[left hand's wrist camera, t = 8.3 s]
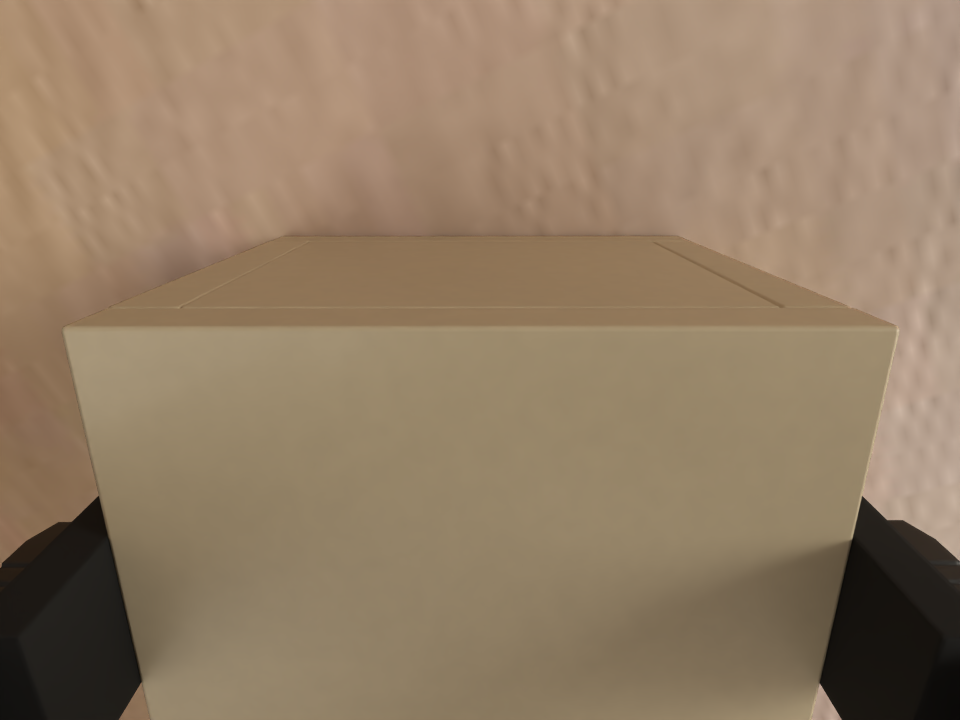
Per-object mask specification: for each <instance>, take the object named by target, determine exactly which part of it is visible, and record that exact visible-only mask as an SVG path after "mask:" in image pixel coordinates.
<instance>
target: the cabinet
mask: <svg viewBox="0 0 960 720" xmlns="http://www.w3.org/2000/svg"><path fill="white" fill-rule="evenodd" d="M62 336H63V340H64V345H65V349H66V354H67V358H68V362H69V367H70V371H71V375H72V380H73V384H74V389H75V393H76V397H77V402H78V406H79V410H80V415H81V419H82V424H83V428H84V432H85V437H86V441H87V445H88V450H89V454H90V459H91V463H92V467H93V472H94V476H95V480H96V485H97V489H98V494H99V498H100V502H101V507H102V511H103V515H104V520H105V524H106V529H107V533H108V537H109V542H110V546H111V551H112V555H113V559H114V564H115V568H116V572H117V577H118V581H119V586H120V590H121V594H122V599H123V603H124V607H125V612H126V616H127V621H128V625H129V629H130V634H131V638H132V642H133V647H134V651H135V656H136V660H137V664H138V669H139V673H140V677H141V682H142V686H143V691H144V695H145V699H146V704H147V708H148V712H149V717H150V720H811V719H812V714H813V710H814V705H815V701H816V697H817V692H818V688H819V683H820V679H821V675H822V670H823V666H824V661H825V657H826V653H827V648H828V644H829V639H830V635H831V631H832V626H833V622H834V617H835V613H836V609H837V604H838V600H839V595H840V591H841V587H842V582H843V578H844V573H845V569H846V565H847V560H848V556H849V551H850V547H851V543H852V538H853V534H854V529H855V525H856V521H857V516H858V512H859V507H860V503H861V499H862V494H863V490H864V485H865V481H866V477H867V472H868V468H869V463H870V459H871V455H872V450H873V446H874V441H875V437H876V433H877V428H878V424H879V419H880V415H881V411H882V406H883V402H884V397H885V393H886V389H887V384H888V380H889V375H890V371H891V367H892V362H893V358H894V353H895V349H896V345H897V340H898V336H899V328H898V326H896V325H893V324H891V323H889V322H886V321H884V320H881V319H879V318H876V317H874V316H871V315H869V314H867V313H864V312H862V311H859V310H857V309H854V308H850V307H849V306H846V305H844V304H842V303H839V302H837V301H834V300H832V299H830V298H827V297H825V296H822V295H820V294H817V293H815V292H813V291H810V290H808V289H805V288H803V287H800V286H798V285H796V284H793V283H791V282H788V281H786V280H783V279H781V278H779V277H776V276H774V275H771V274H769V273H766V272H764V271H762V270H759V269H757V268H754V267H752V266H749V265H747V264H745V263H742V262H740V261H737V260H735V259H732V258H730V257H728V256H725V255H723V254H720V253H718V252H715V251H713V250H711V249H708V248H706V247H703V246H701V245H698V244H696V243H694V242H691V241H689V240H686V239H684V238H681V237H679V236H283V237H280V238H278V239H275V240H273V241H269V242H267V243H264V244H262V245H259V246H257V247H254V248H252V249H250V250H247V251H245V252H242V253H240V254H237V255H235V256H232V257H230V258H228V259H225V260H223V261H220V262H218V263H215V264H213V265H210V266H208V267H206V268H203V269H201V270H198V271H196V272H193V273H191V274H188V275H186V276H184V277H181V278H179V279H176V280H174V281H171V282H169V283H167V284H164V285H162V286H159V287H157V288H154V289H152V290H149V291H147V292H145V293H142V294H140V295H137V296H135V297H132V298H130V299H127V300H125V301H123V302H120V303H118V304H115V305H113V306H110V307H109V308H108V309H105V310H103V311H100V312H98V313H95V314H93V315H90V316H88V317H86V318H83V319H81V320H78V321H76V322H73V323H71V324H69V325H66V326H64V327H63V328H62Z"/></svg>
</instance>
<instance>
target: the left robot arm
mask: <svg viewBox="0 0 960 720" xmlns="http://www.w3.org/2000/svg"><path fill="white" fill-rule="evenodd" d="M140 684H141V677H140V673H139V669H138V664H137V660H136V656H135V651H134V647H133V642H132V638H131V634H130V629H129V625H128V621H127V616H126V612H125V607H124V603H123V599H122V594H121V590H120V586H119V581H118V577H117V572H116V568H115V564H114V559H113V555H112V551H111V546H110V542H109V537H108V533H107V529H106V524H105V520H104V515H103V511H102V507H101V502H100V498H99V496H98V497H97V498H96V499H95V500H94V501H93V502H92V503H91V504H90V505H89V506H88V507H87V508H86V509H85V510H84V511H83V512H82V513H81V514H80V515H79V516H78V517H77V518H75V519H74V520H73V521H72V522H58V523H56V524H55V525H53V526H51V527H50V528H48V529H46V530H44V531H43V532H41V533H39V534H38V535H36V536H34V537H32V538H31V539H29V540H27V541H26V542H25V543H24V544H22V545H21V546H20V547H19V548H18V549H17V550H16V551H15V552H14V553H13V554H12V555H11V556H9V557H8V558H7V559H6V560H5V561H4V562H3V563H2V567H1V568H0V720H119V718H120V717H121V715H122V713H123V712H124V710H125V708H126V707H127V705H128V703H129V702H130V700H131V698H132V697H133V695H134V693H135V692H136V690H137V688H138V687H139V685H140ZM820 684H821V686H822V687H823V689H824V691H825V692H826V694H827V696H828V697H829V699H830V701H831V702H832V704H833V706H834V707H835V709H836V710H837V712H838V714H839V715H840V717H841V719H842V720H960V561H959V560H958V559H956V558H955V557H954V556H953V555H952V554H951V553H950V552H949V551H948V550H947V549H946V548H944V547H943V546H942V545H941V544H940V543H939V542H938V541H937V540H936V539H934V538H932V537H931V536H929V535H927V534H926V533H924V532H922V531H920V530H919V529H917V528H915V527H913V526H912V525H910V524H908V523H907V522H905V521H903V520H886V519H885V518H884V517H883V516H882V515H881V514H880V513H879V512H878V511H877V510H876V509H875V508H874V507H873V506H872V505H871V504H870V503H869V502H868V501H867V500H866V499H865V498H864V497H863V496H862V499H861V503H860V507H859V512H858V516H857V521H856V525H855V529H854V534H853V538H852V543H851V547H850V551H849V556H848V560H847V565H846V569H845V573H844V578H843V582H842V587H841V591H840V595H839V600H838V604H837V609H836V613H835V617H834V622H833V626H832V631H831V635H830V639H829V644H828V648H827V653H826V657H825V661H824V666H823V670H822V675H821V679H820Z"/></svg>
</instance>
